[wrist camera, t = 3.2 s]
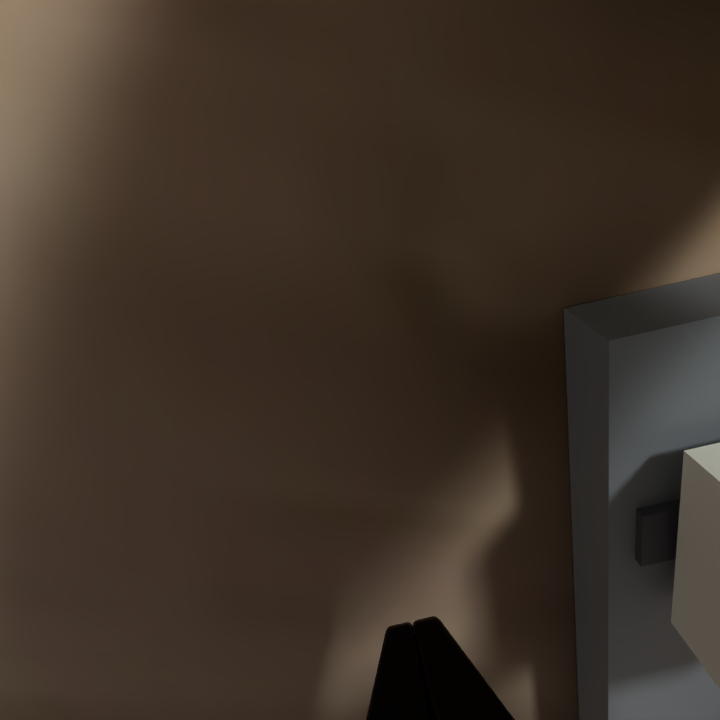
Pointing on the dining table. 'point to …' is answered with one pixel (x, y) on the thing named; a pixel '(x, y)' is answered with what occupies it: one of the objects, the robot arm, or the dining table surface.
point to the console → (637, 491)
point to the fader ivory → (699, 557)
